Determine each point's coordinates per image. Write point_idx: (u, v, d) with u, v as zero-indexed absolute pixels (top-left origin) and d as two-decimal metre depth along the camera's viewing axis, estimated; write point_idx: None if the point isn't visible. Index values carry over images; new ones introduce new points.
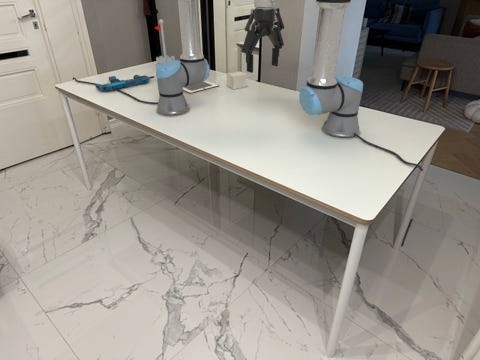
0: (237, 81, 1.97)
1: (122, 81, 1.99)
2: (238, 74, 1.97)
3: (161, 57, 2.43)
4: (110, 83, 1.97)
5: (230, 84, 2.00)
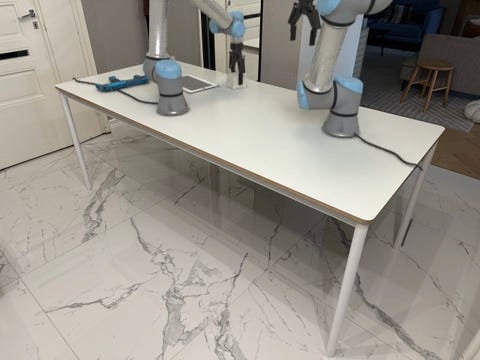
0: (237, 81, 1.97)
1: (122, 81, 1.99)
2: None
3: None
4: (110, 83, 1.97)
5: (230, 84, 2.00)
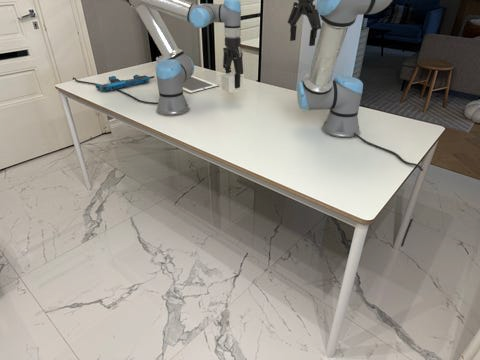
0: (233, 84, 1.66)
1: (122, 81, 1.99)
2: (234, 75, 1.66)
3: (161, 57, 2.43)
4: (110, 83, 1.97)
5: (225, 87, 1.68)
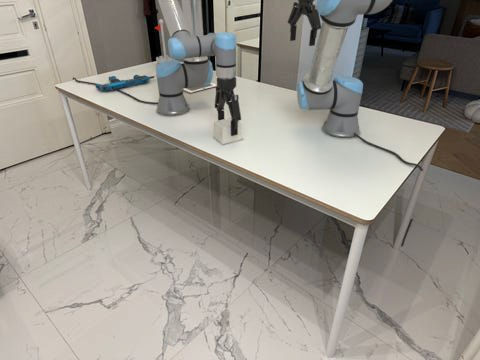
0: (228, 134, 1.38)
1: (122, 81, 1.99)
2: (229, 123, 1.38)
3: (161, 57, 2.43)
4: (110, 83, 1.97)
5: (218, 136, 1.41)
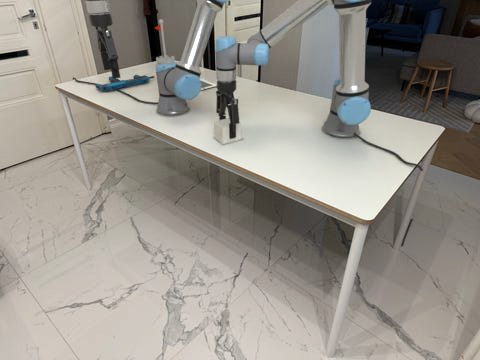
0: (228, 134, 1.38)
1: (122, 81, 1.99)
2: None
3: (161, 57, 2.43)
4: (110, 83, 1.97)
5: (218, 136, 1.41)
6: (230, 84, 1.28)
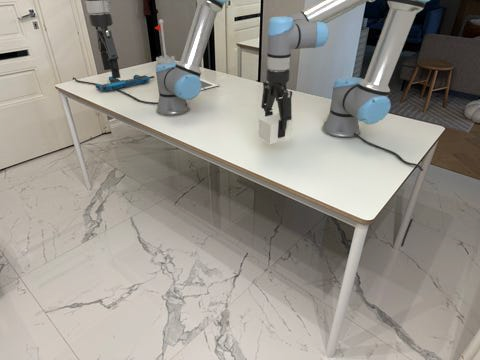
0: (276, 132, 1.19)
1: (122, 81, 1.99)
2: (278, 120, 1.20)
3: (161, 57, 2.43)
4: (110, 83, 1.97)
5: (264, 135, 1.22)
6: (283, 74, 1.09)
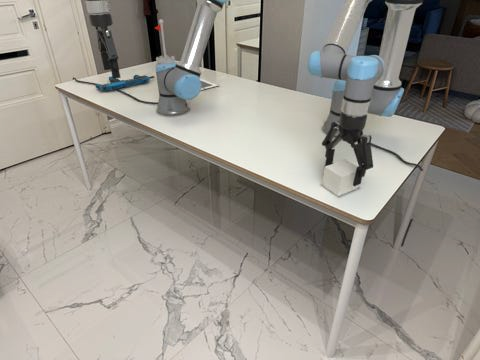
0: (346, 183, 1.07)
1: (122, 81, 1.99)
2: (347, 169, 1.08)
3: (161, 57, 2.43)
4: (110, 83, 1.97)
5: (330, 185, 1.10)
6: (362, 119, 0.96)
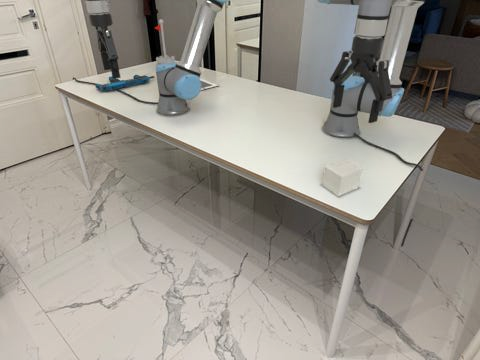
0: (346, 183, 1.07)
1: (122, 81, 1.99)
2: (347, 169, 1.08)
3: (161, 57, 2.43)
4: (110, 83, 1.97)
5: (330, 185, 1.10)
6: (378, 41, 0.85)
